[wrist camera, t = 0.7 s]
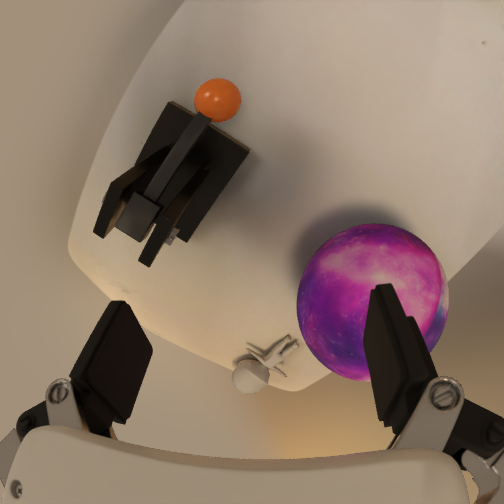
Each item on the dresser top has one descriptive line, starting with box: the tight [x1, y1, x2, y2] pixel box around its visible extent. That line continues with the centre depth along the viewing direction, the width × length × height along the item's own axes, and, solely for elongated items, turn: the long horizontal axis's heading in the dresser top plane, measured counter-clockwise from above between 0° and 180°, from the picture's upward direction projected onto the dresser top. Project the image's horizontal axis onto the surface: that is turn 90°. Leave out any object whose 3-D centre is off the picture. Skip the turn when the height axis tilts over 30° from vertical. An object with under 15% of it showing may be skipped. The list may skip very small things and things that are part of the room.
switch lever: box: [115, 78, 241, 242], centre depth 19 cm, size 13×3×3 cm, turn 145°
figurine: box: [232, 336, 299, 394], centre depth 40 cm, size 8×5×12 cm
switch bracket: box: [93, 101, 250, 267], centre depth 23 cm, size 12×9×12 cm
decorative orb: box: [297, 224, 449, 382], centre depth 25 cm, size 15×15×15 cm
